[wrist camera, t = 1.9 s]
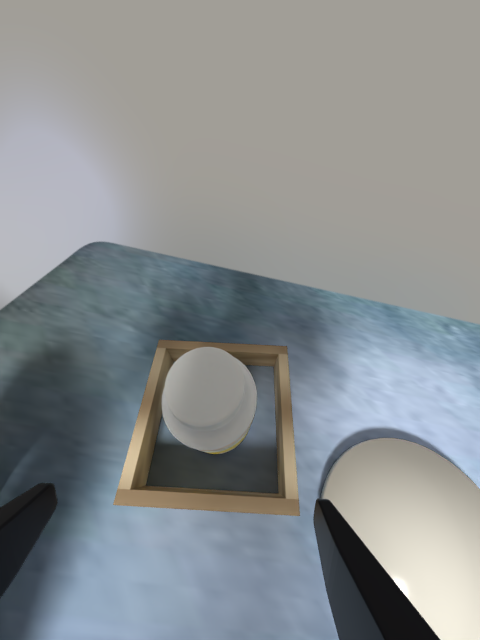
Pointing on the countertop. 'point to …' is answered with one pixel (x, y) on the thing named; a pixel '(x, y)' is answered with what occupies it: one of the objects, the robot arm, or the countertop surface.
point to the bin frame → (139, 494)
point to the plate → (416, 527)
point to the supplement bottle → (209, 400)
